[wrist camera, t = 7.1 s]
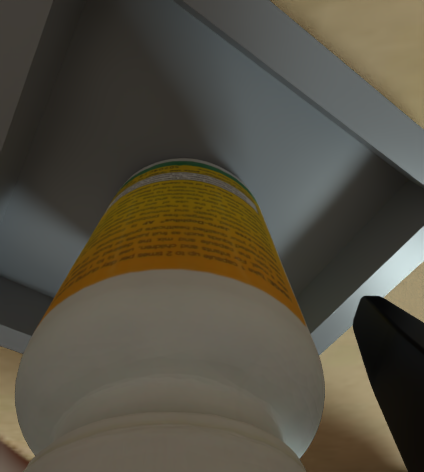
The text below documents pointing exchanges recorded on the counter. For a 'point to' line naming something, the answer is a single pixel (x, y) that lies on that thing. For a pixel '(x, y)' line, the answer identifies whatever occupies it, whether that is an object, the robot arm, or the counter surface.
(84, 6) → the tray
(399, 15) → the counter surface
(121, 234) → the supplement bottle
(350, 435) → the counter surface
